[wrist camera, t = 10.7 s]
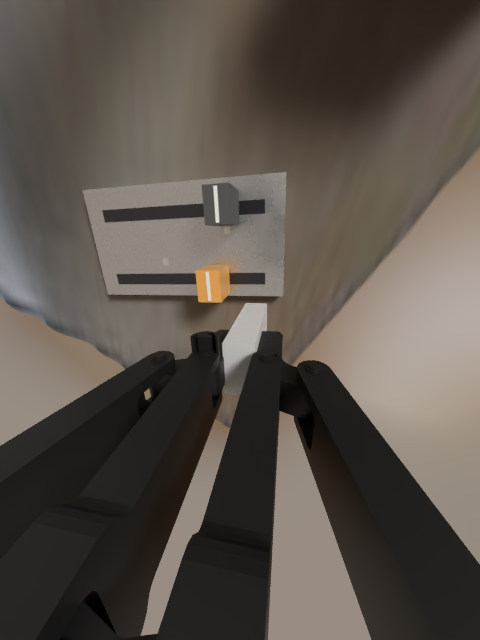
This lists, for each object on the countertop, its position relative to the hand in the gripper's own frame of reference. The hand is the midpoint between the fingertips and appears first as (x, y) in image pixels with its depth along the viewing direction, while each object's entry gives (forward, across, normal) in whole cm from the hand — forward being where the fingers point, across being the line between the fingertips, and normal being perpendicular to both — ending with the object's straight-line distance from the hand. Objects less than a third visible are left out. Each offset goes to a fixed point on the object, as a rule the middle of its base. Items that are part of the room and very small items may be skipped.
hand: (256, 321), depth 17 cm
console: (+19, -12, +5) cm, 23 cm away
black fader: (+17, -6, +9) cm, 20 cm away
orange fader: (+17, -7, 0) cm, 18 cm away
